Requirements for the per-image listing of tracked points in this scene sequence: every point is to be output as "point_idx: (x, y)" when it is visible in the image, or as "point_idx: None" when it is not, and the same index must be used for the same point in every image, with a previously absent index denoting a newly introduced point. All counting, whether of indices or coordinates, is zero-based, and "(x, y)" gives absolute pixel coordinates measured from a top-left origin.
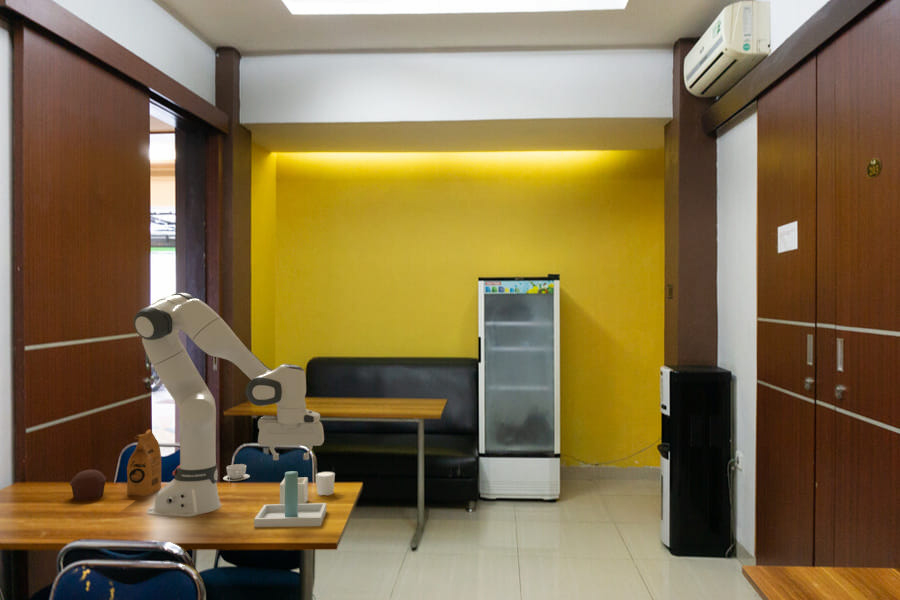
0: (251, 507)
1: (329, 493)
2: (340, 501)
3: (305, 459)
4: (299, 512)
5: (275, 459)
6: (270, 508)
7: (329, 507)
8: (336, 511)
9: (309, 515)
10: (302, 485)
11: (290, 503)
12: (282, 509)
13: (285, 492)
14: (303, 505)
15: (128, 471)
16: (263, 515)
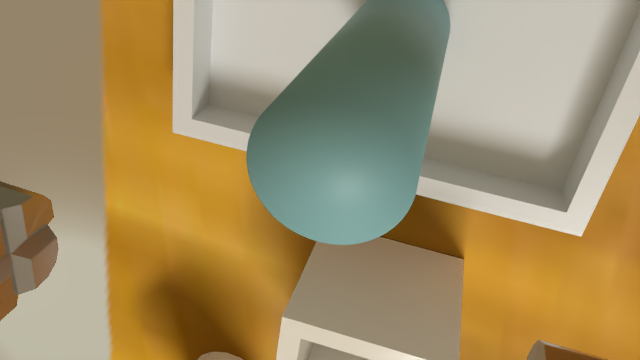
0: (633, 333)
1: (204, 358)
2: (146, 251)
3: (11, 186)
4: None
5: (592, 357)
6: (537, 194)
7: (190, 183)
8: (146, 107)
9: (284, 27)
10: (296, 312)
11: (397, 3)
12: (455, 171)
13: (431, 63)
14: None
15: None
16: (603, 99)
